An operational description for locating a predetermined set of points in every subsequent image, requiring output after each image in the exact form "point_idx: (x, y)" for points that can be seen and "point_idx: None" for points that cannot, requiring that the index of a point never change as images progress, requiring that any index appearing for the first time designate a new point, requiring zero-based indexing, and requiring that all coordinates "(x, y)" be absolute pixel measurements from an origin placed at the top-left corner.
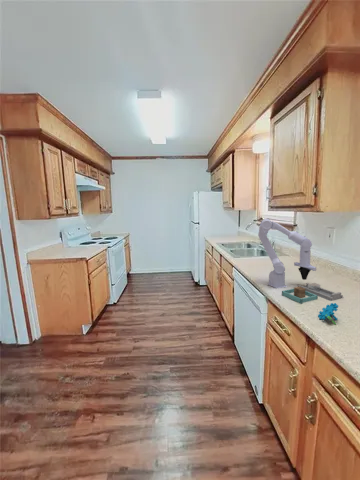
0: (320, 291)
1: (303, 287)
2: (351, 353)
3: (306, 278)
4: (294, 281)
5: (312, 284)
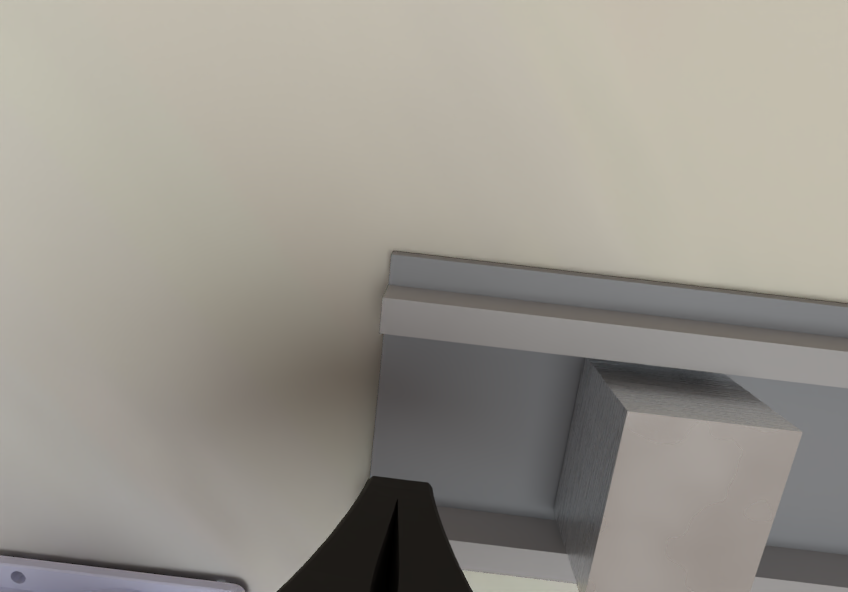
0: None
1: (500, 570)
2: None
3: (432, 502)
4: (49, 234)
5: (659, 540)
